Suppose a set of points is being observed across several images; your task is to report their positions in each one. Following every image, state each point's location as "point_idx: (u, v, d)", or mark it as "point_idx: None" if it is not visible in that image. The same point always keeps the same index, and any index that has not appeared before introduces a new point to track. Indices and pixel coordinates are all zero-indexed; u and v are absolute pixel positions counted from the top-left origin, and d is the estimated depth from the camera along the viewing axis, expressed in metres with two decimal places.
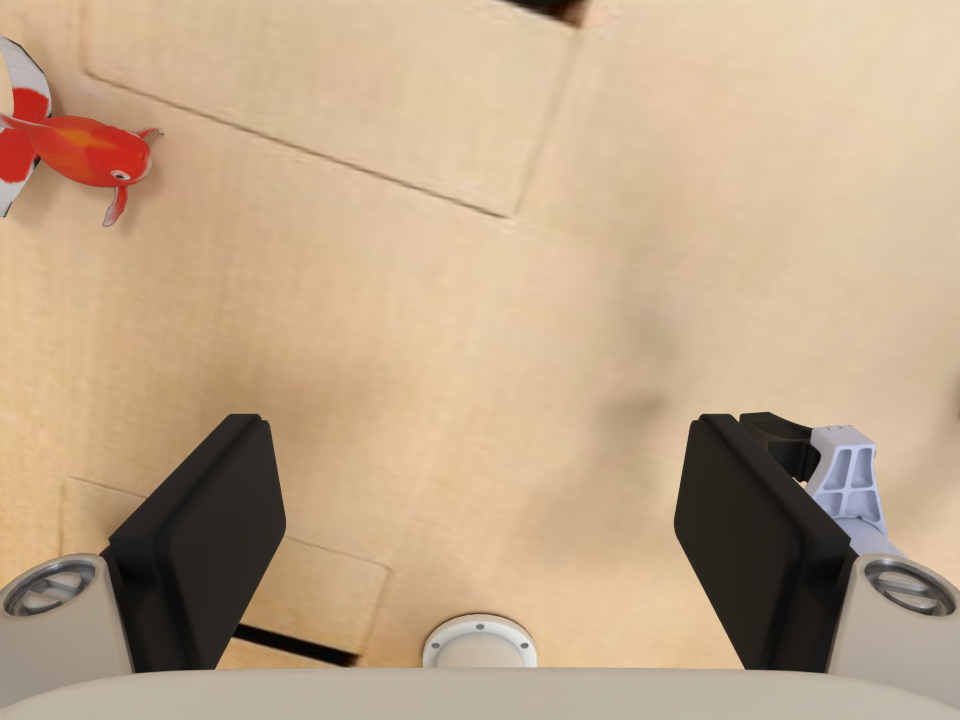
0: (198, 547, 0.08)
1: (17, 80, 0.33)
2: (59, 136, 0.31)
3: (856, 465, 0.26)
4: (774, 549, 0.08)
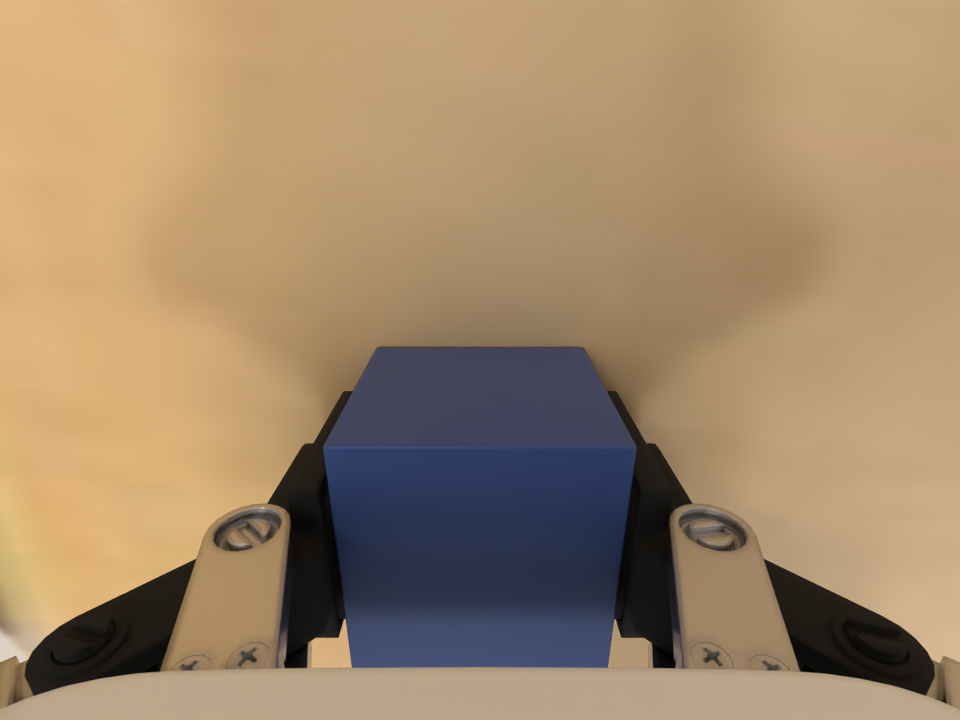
0: None
1: None
2: None
3: None
4: None
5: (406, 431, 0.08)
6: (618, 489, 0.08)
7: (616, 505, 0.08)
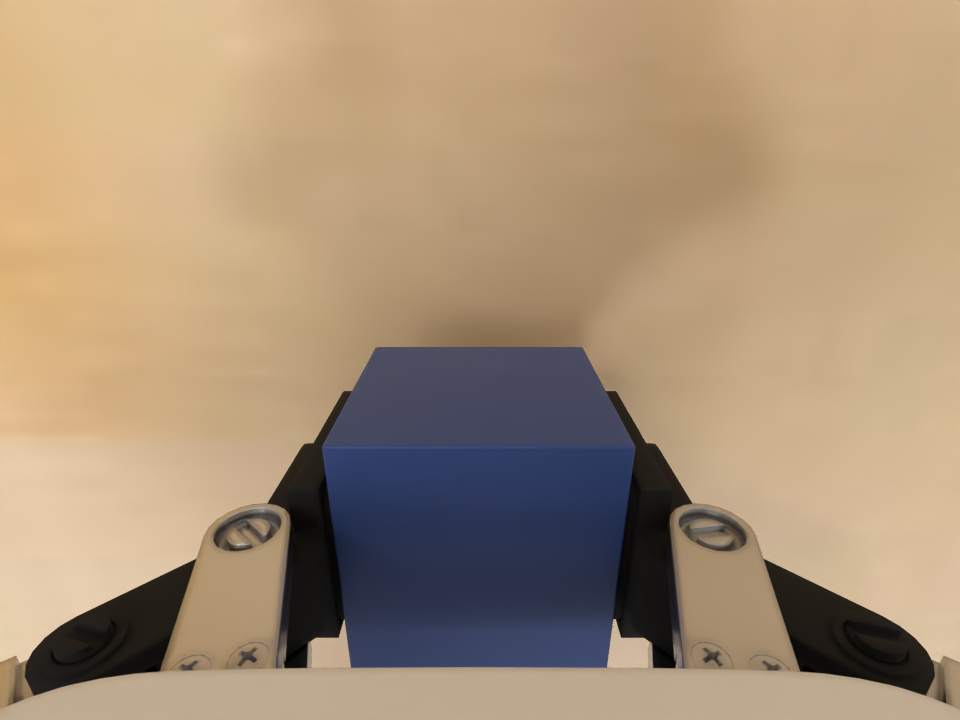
0: None
1: None
2: None
3: None
4: None
5: (405, 430, 0.08)
6: (617, 489, 0.08)
7: (615, 504, 0.08)
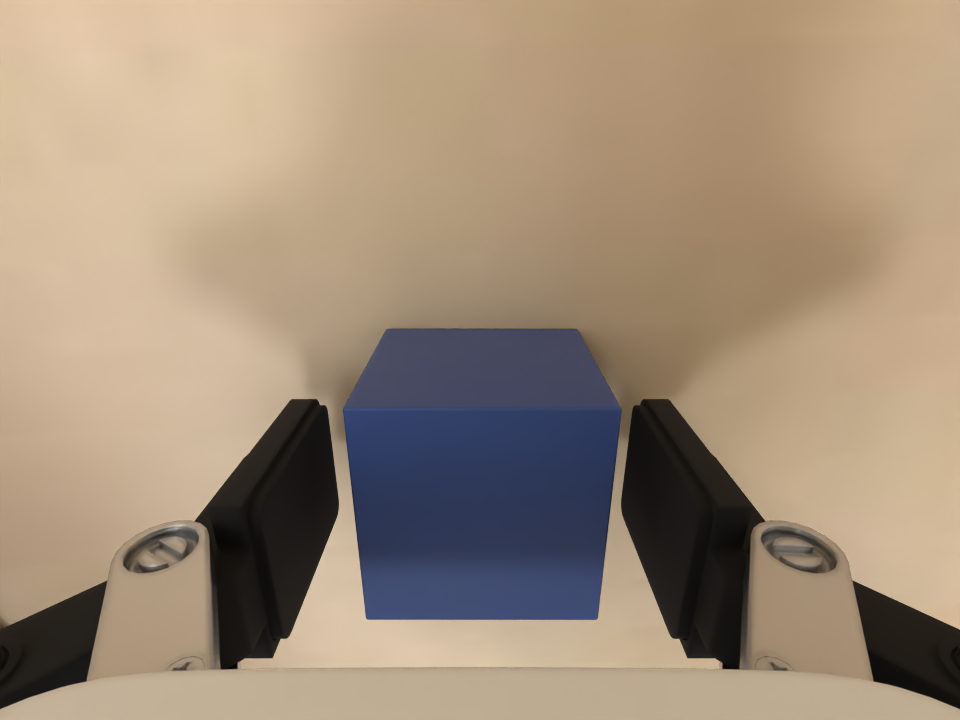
0: (279, 518, 0.09)
1: None
2: None
3: None
4: (688, 519, 0.08)
5: (416, 396, 0.09)
6: (605, 448, 0.09)
7: (603, 462, 0.09)
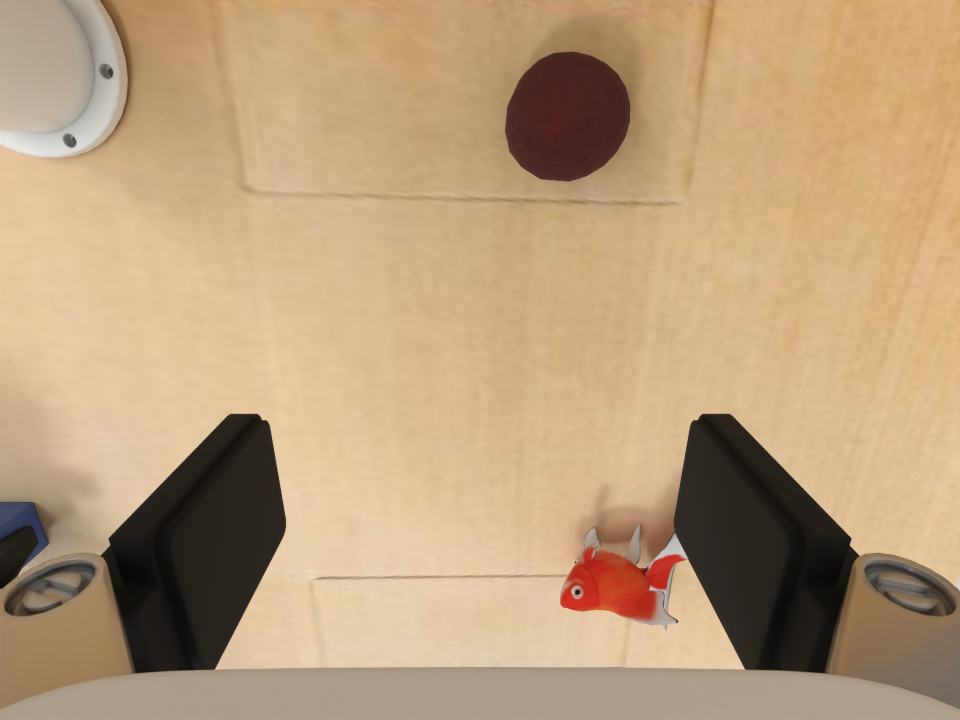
0: (198, 546, 0.08)
1: None
2: (617, 609, 0.43)
3: None
4: (774, 549, 0.08)
5: None
6: None
7: None
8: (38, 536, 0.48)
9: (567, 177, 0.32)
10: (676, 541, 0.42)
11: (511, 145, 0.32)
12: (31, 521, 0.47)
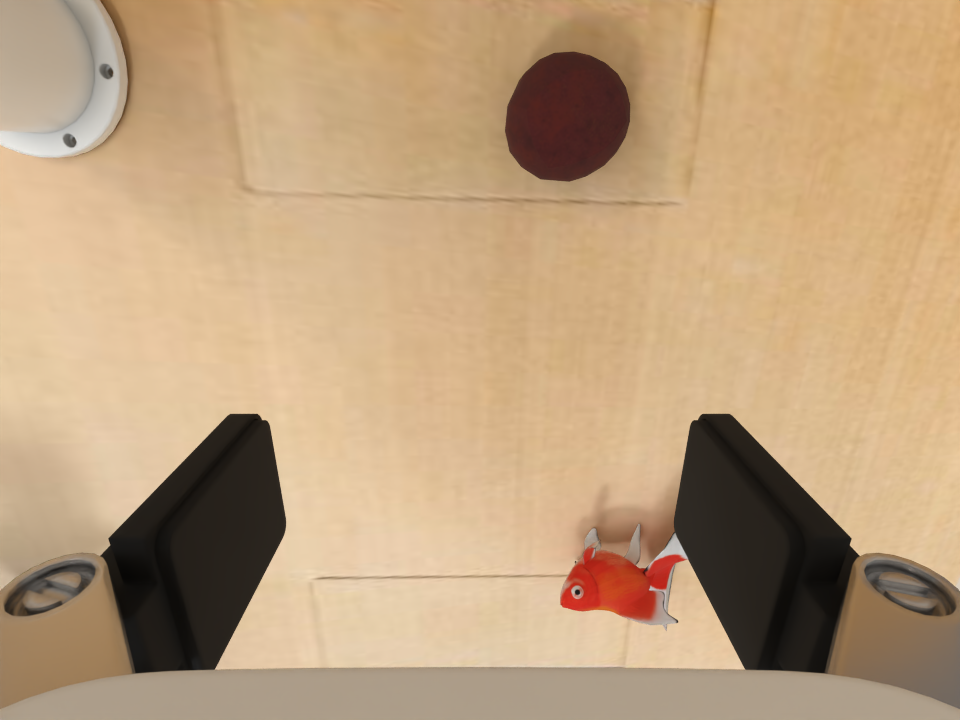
0: (198, 546, 0.08)
1: None
2: (617, 609, 0.43)
3: None
4: (774, 549, 0.08)
5: None
6: None
7: None
8: None
9: (567, 177, 0.32)
10: (676, 541, 0.42)
11: (511, 145, 0.32)
12: None
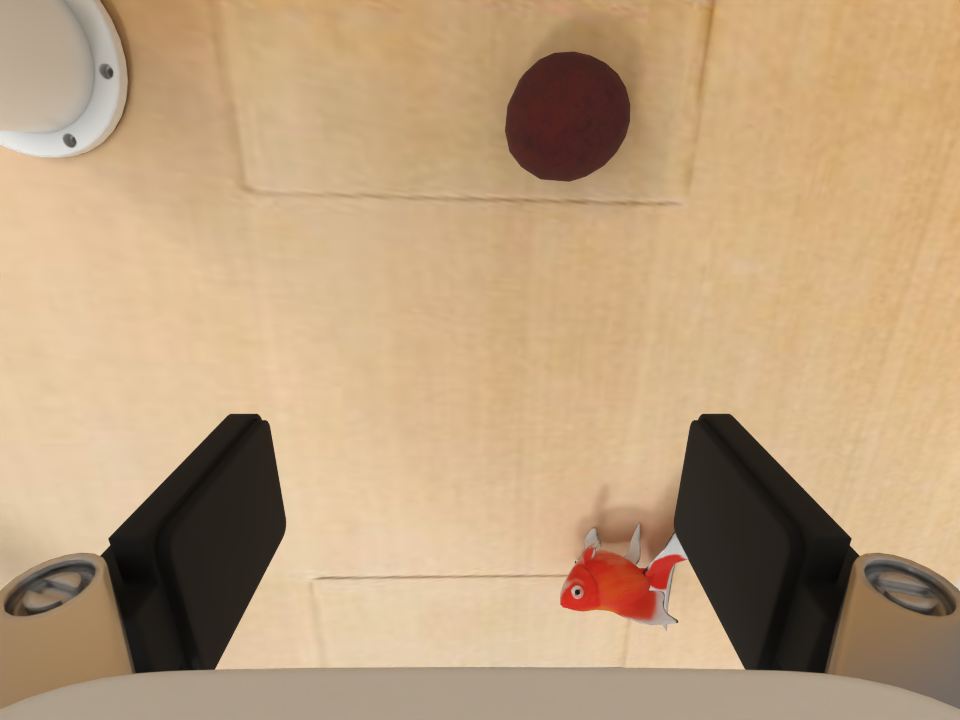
0: (198, 546, 0.08)
1: None
2: (617, 609, 0.43)
3: None
4: (774, 549, 0.08)
5: None
6: None
7: None
8: None
9: (567, 177, 0.32)
10: (676, 541, 0.42)
11: (511, 145, 0.32)
12: None
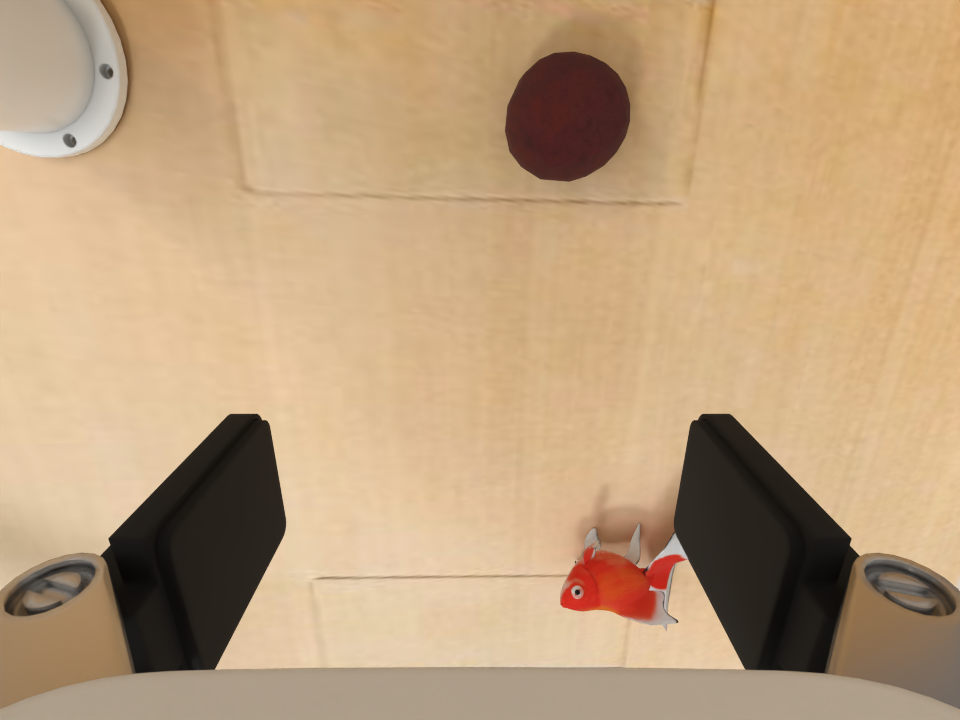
0: (198, 546, 0.08)
1: None
2: (617, 609, 0.43)
3: None
4: (774, 549, 0.08)
5: None
6: None
7: None
8: None
9: (567, 177, 0.32)
10: (676, 541, 0.42)
11: (511, 145, 0.32)
12: None
